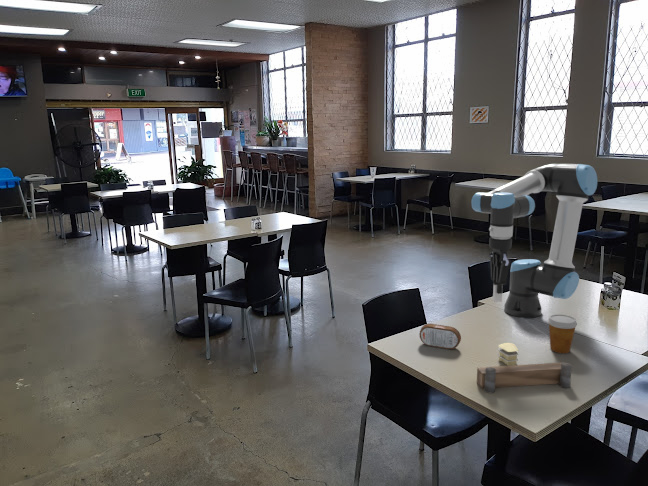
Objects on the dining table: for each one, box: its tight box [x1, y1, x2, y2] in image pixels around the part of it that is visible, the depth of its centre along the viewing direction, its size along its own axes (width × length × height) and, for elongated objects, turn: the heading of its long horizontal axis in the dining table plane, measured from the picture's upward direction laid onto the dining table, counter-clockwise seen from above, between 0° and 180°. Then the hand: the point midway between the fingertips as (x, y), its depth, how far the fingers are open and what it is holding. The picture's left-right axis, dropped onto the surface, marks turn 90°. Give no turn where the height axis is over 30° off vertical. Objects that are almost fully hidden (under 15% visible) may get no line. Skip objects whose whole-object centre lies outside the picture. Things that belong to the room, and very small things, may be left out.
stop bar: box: [476, 361, 573, 394], centre depth 154 cm, size 7×28×7 cm, turn 94°
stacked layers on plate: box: [497, 342, 519, 366], centre depth 171 cm, size 10×9×6 cm
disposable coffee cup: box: [547, 313, 578, 354], centre depth 177 cm, size 10×10×12 cm
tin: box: [418, 323, 462, 350], centre depth 183 cm, size 15×3×8 cm, turn 65°
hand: (497, 300), depth 178 cm, fingers closed
